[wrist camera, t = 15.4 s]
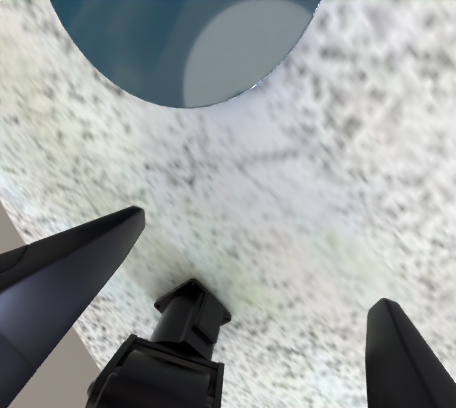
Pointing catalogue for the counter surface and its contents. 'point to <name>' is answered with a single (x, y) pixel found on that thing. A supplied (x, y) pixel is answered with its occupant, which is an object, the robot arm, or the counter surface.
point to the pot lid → (185, 44)
